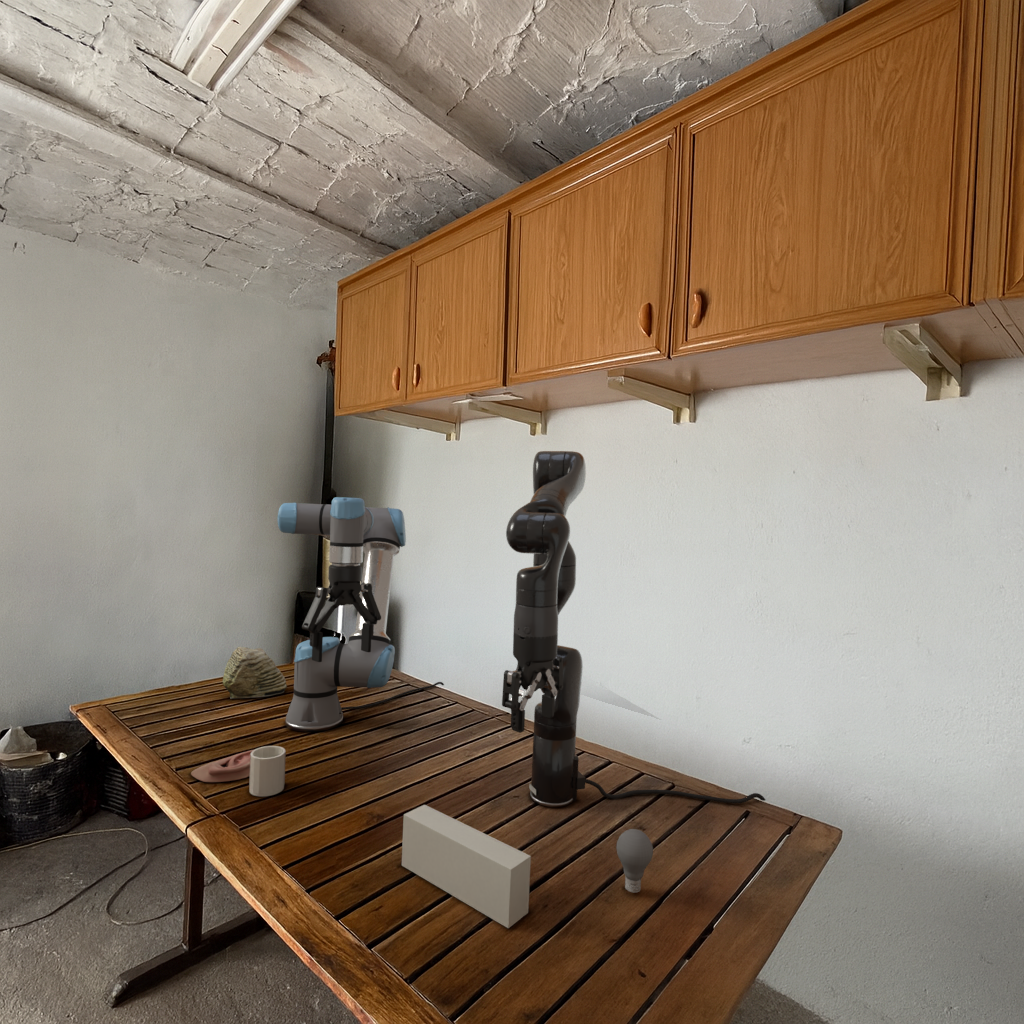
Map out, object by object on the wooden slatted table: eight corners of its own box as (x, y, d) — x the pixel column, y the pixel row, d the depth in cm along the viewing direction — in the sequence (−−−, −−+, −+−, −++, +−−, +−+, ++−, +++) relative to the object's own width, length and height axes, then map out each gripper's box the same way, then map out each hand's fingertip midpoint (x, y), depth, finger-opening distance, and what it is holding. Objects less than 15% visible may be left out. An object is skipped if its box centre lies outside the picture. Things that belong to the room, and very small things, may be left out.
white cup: (272, 778, 141) (274, 743, 141) (290, 788, 137) (291, 752, 137) (242, 789, 136) (244, 752, 136) (260, 799, 131) (261, 761, 131)
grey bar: (401, 865, 110) (403, 814, 110) (422, 853, 114) (424, 804, 114) (508, 928, 95) (511, 869, 95) (528, 912, 99) (531, 855, 99)
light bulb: (610, 879, 108) (613, 822, 108) (644, 879, 109) (647, 822, 109) (619, 902, 102) (622, 840, 102) (655, 901, 103) (658, 840, 103)
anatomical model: (182, 760, 139) (216, 741, 150) (181, 778, 139) (216, 758, 150) (236, 768, 136) (267, 748, 147) (235, 786, 136) (266, 765, 147)
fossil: (218, 695, 195) (220, 647, 195) (278, 685, 208) (279, 640, 207) (228, 703, 189) (230, 653, 188) (289, 692, 201) (290, 645, 201)
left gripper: (377, 560, 158) (374, 644, 158) (287, 565, 139) (284, 661, 139) (398, 563, 153) (394, 650, 154) (307, 569, 134) (304, 668, 134)
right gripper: (542, 619, 115) (539, 707, 116) (491, 633, 104) (489, 730, 105) (577, 626, 111) (574, 717, 111) (528, 641, 99) (525, 742, 100)
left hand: (342, 656), depth 146 cm, fingers open, 13 cm apart
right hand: (533, 723), depth 108 cm, fingers open, 8 cm apart
